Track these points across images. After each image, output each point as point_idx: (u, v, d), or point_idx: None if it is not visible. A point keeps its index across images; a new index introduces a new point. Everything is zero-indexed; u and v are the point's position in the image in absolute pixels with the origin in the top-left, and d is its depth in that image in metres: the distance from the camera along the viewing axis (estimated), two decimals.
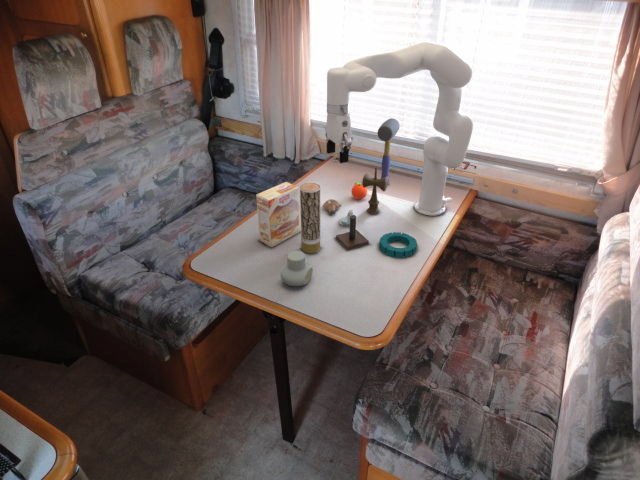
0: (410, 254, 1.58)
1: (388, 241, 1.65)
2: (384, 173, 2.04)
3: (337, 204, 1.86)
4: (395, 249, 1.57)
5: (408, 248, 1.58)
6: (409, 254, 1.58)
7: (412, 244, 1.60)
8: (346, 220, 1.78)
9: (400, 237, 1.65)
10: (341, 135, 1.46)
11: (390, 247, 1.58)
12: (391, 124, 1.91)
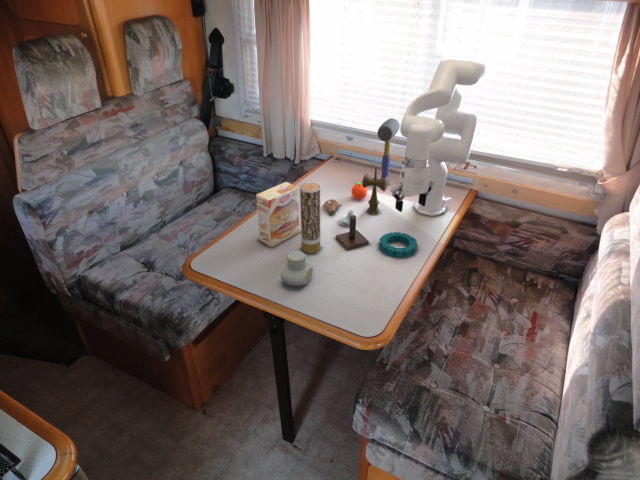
0: (410, 254, 1.58)
1: (388, 241, 1.65)
2: (384, 173, 2.04)
3: (337, 204, 1.86)
4: (395, 249, 1.57)
5: (408, 248, 1.58)
6: (409, 254, 1.58)
7: (412, 244, 1.60)
8: (346, 220, 1.78)
9: (400, 237, 1.65)
10: (398, 183, 1.51)
11: (390, 247, 1.58)
12: (391, 124, 1.91)
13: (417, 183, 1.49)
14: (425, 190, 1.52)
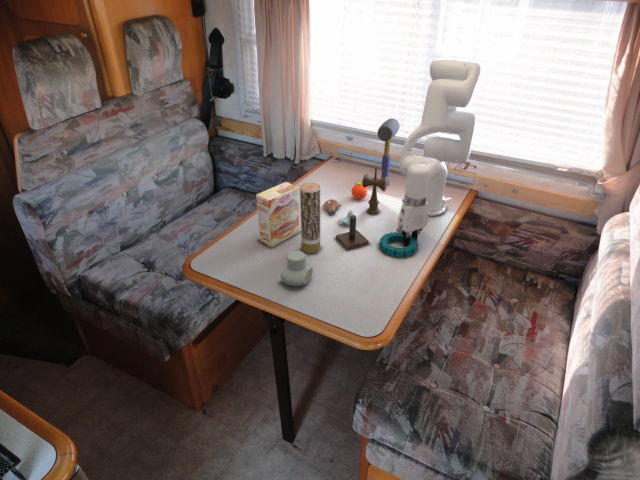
0: (410, 254, 1.58)
1: (388, 241, 1.65)
2: (384, 173, 2.04)
3: (337, 204, 1.86)
4: (395, 249, 1.57)
5: (409, 248, 1.58)
6: (409, 254, 1.58)
7: (412, 243, 1.60)
8: (346, 220, 1.78)
9: (400, 237, 1.65)
10: (399, 219, 1.58)
11: (390, 247, 1.58)
12: (391, 124, 1.91)
13: (417, 220, 1.56)
14: (424, 225, 1.59)
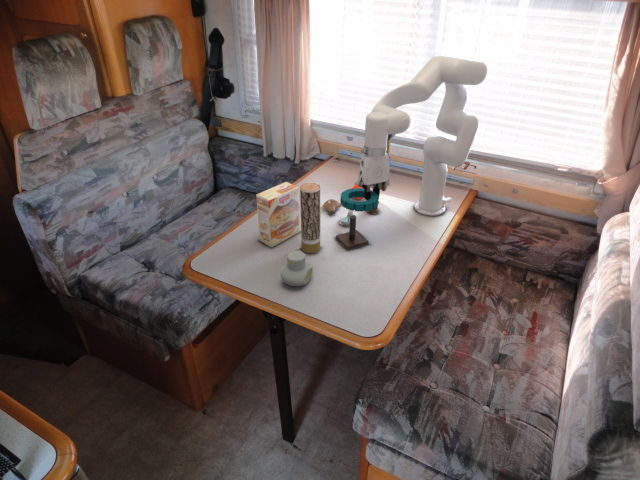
0: (371, 208, 1.53)
1: (350, 197, 1.60)
2: None
3: (337, 204, 1.86)
4: (355, 202, 1.52)
5: (369, 201, 1.53)
6: (370, 208, 1.52)
7: (373, 198, 1.55)
8: (346, 220, 1.78)
9: (362, 192, 1.60)
10: (359, 172, 1.53)
11: (350, 201, 1.53)
12: None
13: (377, 172, 1.51)
14: (385, 178, 1.54)
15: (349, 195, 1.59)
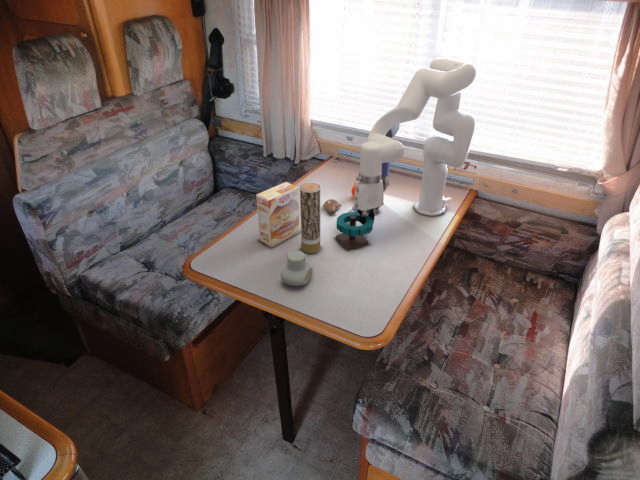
0: (365, 232, 1.58)
1: (346, 221, 1.65)
2: (384, 173, 2.04)
3: (337, 204, 1.86)
4: (350, 227, 1.58)
5: (364, 226, 1.59)
6: (364, 232, 1.58)
7: (368, 222, 1.61)
8: None
9: (357, 216, 1.66)
10: (354, 198, 1.59)
11: (346, 225, 1.59)
12: None
13: (372, 198, 1.57)
14: (380, 204, 1.60)
15: (345, 219, 1.64)
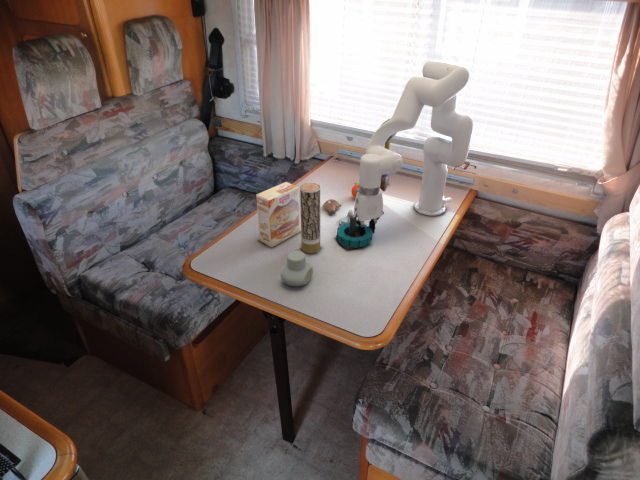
0: (365, 243, 1.61)
1: (346, 231, 1.68)
2: None
3: (337, 204, 1.86)
4: (350, 238, 1.60)
5: (363, 237, 1.61)
6: (364, 243, 1.61)
7: (368, 233, 1.63)
8: (346, 220, 1.78)
9: (357, 227, 1.68)
10: (354, 208, 1.61)
11: (346, 236, 1.62)
12: None
13: (371, 209, 1.59)
14: (379, 215, 1.62)
15: (345, 230, 1.67)
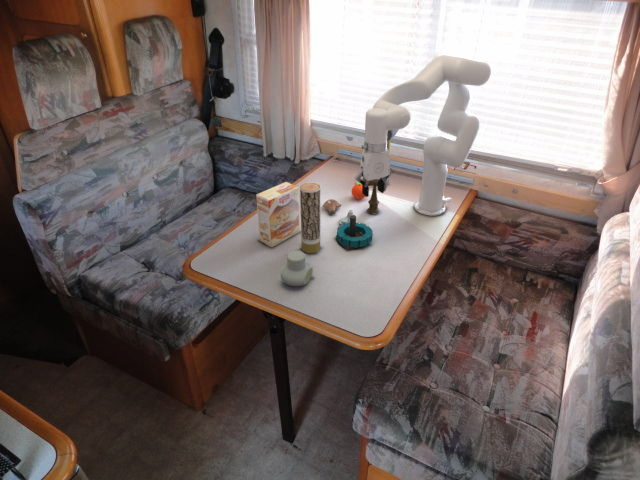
0: (365, 243, 1.61)
1: (346, 231, 1.68)
2: None
3: (337, 204, 1.86)
4: (350, 238, 1.60)
5: (363, 237, 1.61)
6: (364, 243, 1.61)
7: (368, 233, 1.63)
8: (346, 220, 1.78)
9: (357, 227, 1.68)
10: (360, 167, 1.55)
11: (346, 236, 1.62)
12: None
13: (378, 167, 1.53)
14: (386, 174, 1.56)
15: (345, 230, 1.67)
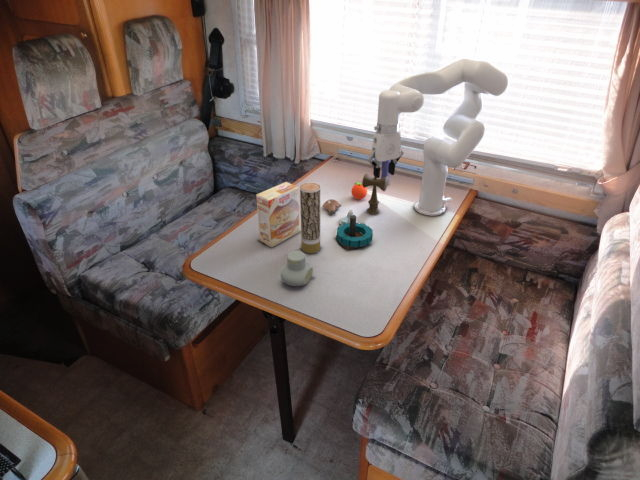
0: (365, 243, 1.61)
1: (346, 231, 1.68)
2: (384, 173, 2.04)
3: (337, 204, 1.86)
4: (350, 238, 1.60)
5: (363, 237, 1.61)
6: (364, 243, 1.61)
7: (368, 233, 1.63)
8: (346, 220, 1.78)
9: (357, 227, 1.68)
10: (372, 149, 1.59)
11: (346, 236, 1.62)
12: None
13: (389, 149, 1.57)
14: (397, 155, 1.60)
15: (345, 230, 1.67)
